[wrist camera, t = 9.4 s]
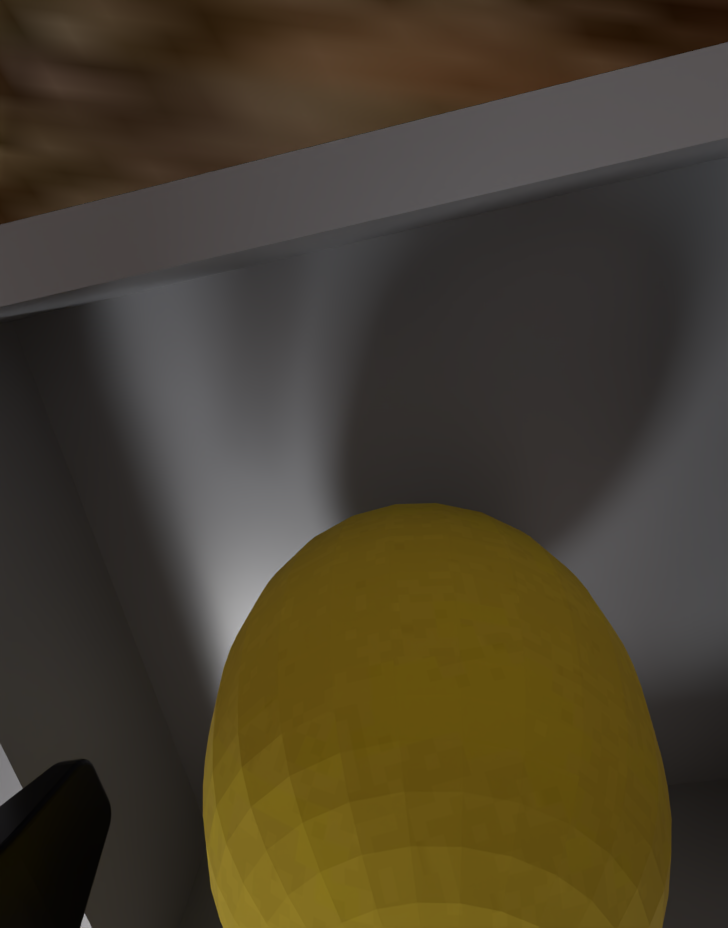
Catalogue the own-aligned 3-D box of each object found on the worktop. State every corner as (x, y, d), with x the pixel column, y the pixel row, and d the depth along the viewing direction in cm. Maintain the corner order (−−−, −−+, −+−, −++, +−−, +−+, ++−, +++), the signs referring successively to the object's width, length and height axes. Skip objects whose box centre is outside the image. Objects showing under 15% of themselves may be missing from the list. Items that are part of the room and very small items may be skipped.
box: (772, 777, 14) (941, 1011, 9) (195, 840, 15) (117, 1063, 11) (773, 92, 9) (1082, -48, 5) (-25, 283, 11) (-289, 297, 7)
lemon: (510, 396, 11) (793, 744, 3) (589, 646, 12) (905, 1287, 5) (231, 495, 11) (-91, 952, 4) (338, 715, 13) (256, 1343, 6)
